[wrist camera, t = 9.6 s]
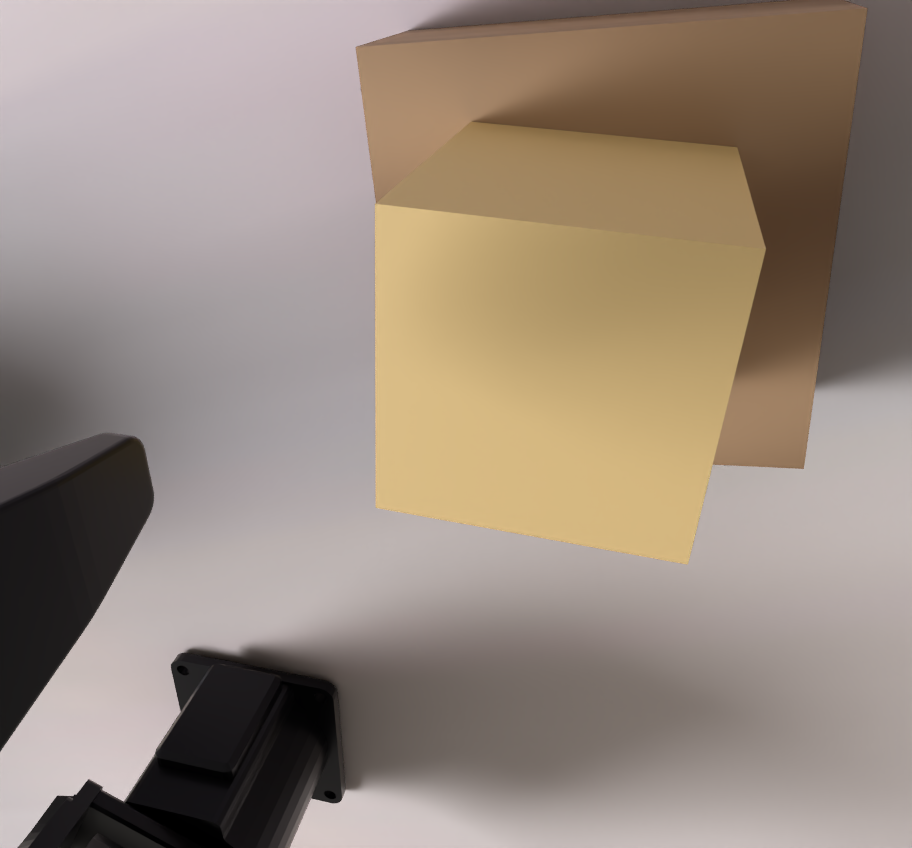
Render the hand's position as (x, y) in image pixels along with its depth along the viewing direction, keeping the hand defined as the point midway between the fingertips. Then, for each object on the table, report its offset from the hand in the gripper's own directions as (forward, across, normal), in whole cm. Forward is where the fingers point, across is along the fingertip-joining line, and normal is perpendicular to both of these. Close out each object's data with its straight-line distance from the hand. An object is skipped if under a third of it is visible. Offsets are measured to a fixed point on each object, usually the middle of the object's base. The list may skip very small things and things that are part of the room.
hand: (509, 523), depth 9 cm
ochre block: (+9, 0, 0) cm, 9 cm away
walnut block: (+13, 0, 0) cm, 13 cm away
